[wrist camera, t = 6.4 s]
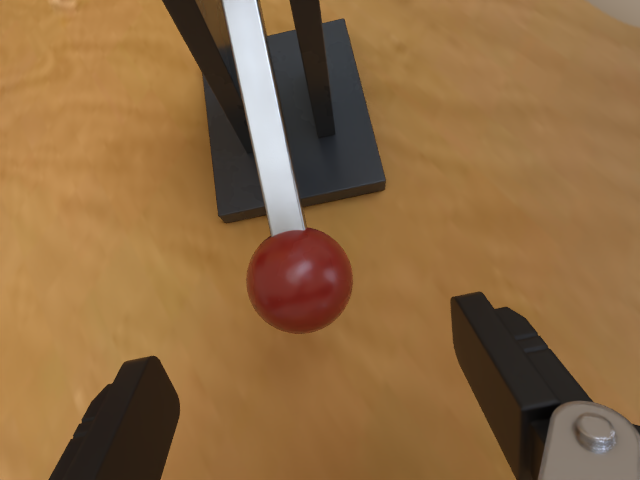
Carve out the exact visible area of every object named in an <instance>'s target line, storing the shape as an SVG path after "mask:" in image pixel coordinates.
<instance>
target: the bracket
mask: <svg viewBox="0 0 640 480" xmlns="http://www.w3.org/2000/svg"><path fill="white" fill-rule="evenodd" d="M162 1H163V3H164V5H165V7H166V8H167V10H168V12H169V14H170V16H171V17H172V19H173V21H174V23H175V25H176V26H177V28H178V30H179V32H180V34H181V35H182V37H183V39H184V41H185V43H186V44H187V46H188V48H189V50H190V52H191V53H192V55H193V57H194V59H195V61H196V62H197V64H198V66H199V68H200V70H201V71H202V74H203V83H204V92H205V101H206V110H207V119H208V128H209V137H210V146H211V155H212V164H213V173H214V182H215V191H216V200H217V208H218V216H219V217H220V218H221V219H222V220H223V221H224V222H225V223H230V222H235V221H239V220H244V219H249V218H253V217H258V216H263V215H267V214H266V209H265V205H264V200H263V195H262V191H261V186H260V181H259V177H258V172H257V167H256V163H255V158H254V153H253V148H252V144H251V139H250V134H249V130H248V125H247V120H246V116H245V111H244V106H243V102H242V97H241V92H240V87H239V83H238V78H237V73H236V69H235V64H234V59H233V55H232V50H231V45H230V41H229V36H228V31H227V26H226V22H225V17H224V12H223V8H222V3H221V0H162ZM290 5H291V10H292V14H293V19H294V24H295V29H296V30H292V31H287V32H283V33H279V34H274V35H270V36H267V37H268V42H269V47H270V52H271V57H272V61H273V66H274V71H275V76H276V80H277V85H278V90H279V95H280V99H281V104H282V109H283V114H284V119H285V123H286V128H287V133H288V138H289V142H290V147H291V152H292V157H293V162H294V166H295V171H296V176H297V181H298V185H299V190H300V195H301V200H302V204H303V207H306V206H310V205H315V204H320V203H325V202H329V201H334V200H339V199H343V198H348V197H353V196H358V195H362V194H367V193H372V192H377V191H381V190H385V183H386V179H385V175H384V171H383V167H382V163H381V159H380V156H379V152H378V148H377V144H376V140H375V136H374V132H373V128H372V124H371V121H370V117H369V113H368V109H367V105H366V101H365V97H364V93H363V90H362V86H361V82H360V78H359V74H358V70H357V66H356V62H355V58H354V55H353V51H352V47H351V43H350V39H349V35H348V31H347V27H346V24H345V20H344V19H339V20H335V21H330V22H326V23H322V19H321V11H320V3H319V0H290Z"/></svg>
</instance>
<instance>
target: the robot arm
mask: <svg viewBox="0 0 640 480" xmlns="http://www.w3.org/2000/svg"><path fill="white" fill-rule="evenodd" d="M451 318H452V332H453V344H454V349H455V353H456V356H457V359H458V362H459V364H460V367H461V369H462V371H463V373H464V375H465V377H466V379H467V381H468V383H469V385H470V387H471V389H472V391H473V393H474V395H475V397H476V399H477V401H478V403H479V405H480V407H481V409H482V411H483V413H484V415H485V417H486V419H487V421H488V423H489V425H490V427H491V429H492V431H493V433H494V435H495V437H496V439H497V441H498V443H499V445H500V447H501V449H502V451H503V453H504V455H505V457H506V459H507V461H508V463H509V465H510V467H511V470H512V472H513V474H514V476H515V478H516V480H640V426H638V425H634V424H631V423H630V422H629V421H628V420H627V419H626V418H625V417H623V416H622V415H621V414H619V413H618V412H616V411H614V410H613V409H610V408H608V407H606V406H604V405H601V404H598V403H594V402H593V401H592V400H591V399H590V398H589V396H588V395H587V394H586V393H585V391H584V390H583V389H582V388H581V386H580V385H579V384H578V383H577V381H576V380H575V379H574V378H573V376H572V375H571V374H570V373H569V372H568V370H567V369H566V368H565V367H564V365H563V364H562V363H561V362H560V360H559V359H558V358H557V357H556V355H555V354H554V353H553V352H552V350H551V349H548V346H547V344H546V343H545V342H544V341H543V339H542V338H541V337H540V336H538V334H537V332H536V331H535V329H534V328H533V327H532V326H531V324H530V323H529V322H528V321H527V319H526V318H525V317H523V316H521V315H520V314H518V313H516V312H515V311H513V310H511V309H510V308H508V307H503V308H498V309H494V308H493V307H492V305H491V304H490V302H489V301H488V300H487V298H486V297H485V295H484V294H483V293H482V292H475V293H470V294H465V295H460V296H455V297H451ZM179 415H180V403H179V398H178V395H177V393H176V391H175V389H174V387H173V385H172V383H171V381H170V379H169V377H168V375H167V373H166V371H165V369H164V368H163V366H162V364H161V362H160V360H159V359H158V358H157V357H156V356H150V357H145V358H140V359H135V360H130V361H126V362H124V363H123V365H122V366H121V368H120V370H119V372H118V374H117V376H116V378H115V380H114V382H113V383H112V384H108V385H107V386H106V387H105V388H104V389H103V390H102V391H101V392H100V393H99V394H98V395H97V397H96V398H95V399H94V400H93V401H92V402H91V404H90V406H89V407H88V409H87V411H86V413H85V415H84V416H83V418H82V423H81V424H79V425H78V427H77V429H76V431H75V433H74V435H73V439H71V440H70V442H69V444H68V445H67V447H66V449H65V451H64V453H63V454H62V456H61V458H60V460H59V462H58V464H57V465H56V467H55V469H54V471H53V473H52V474H51V476H50V478H49V480H160V479H161V476H162V473H163V469H164V466H165V463H166V459H167V456H168V453H169V449H170V446H171V443H172V439H173V436H174V433H175V429H176V426H177V423H178V419H179Z"/></svg>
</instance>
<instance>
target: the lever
mask: <svg viewBox="0 0 640 480" xmlns="http://www.w3.org/2000/svg"><path fill="white" fill-rule="evenodd" d="M221 3H222V8H223V12H224V17H225V22H226V26H227V31H228V36H229V41H230V45H231V50H232V55H233V59H234V64H235V69H236V73H237V78H238V83H239V87H240V92H241V97H242V102H243V106H244V111H245V116H246V120H247V125H248V130H249V134H250V139H251V144H252V148H253V153H254V158H255V163H256V167H257V172H258V177H259V181H260V186H261V191H262V195H263V200H264V205H265V209H266V214H267V219H268V224H269V228H270V233H271V236H270V237H268V238H267V239H266V240H265V241H263V242H262V243H261V245H260V246H259V247H258V248H257V249H256V251H255V252H254V254H253V256H252V258H251V260H250V263H249V266H248V270H247V278H246V281H247V292H248V295H249V299H250V301H251V303H252V306H253V307H254V309H255V311H256V312H257V313H258V314H259V316H260V317H261V318H262V319H263V320H264V321H265V322H267V323H268V324H269V325H271V326H273V327H274V328H276V329H279V330H281V331H284V332H288V333H294V334H305V333H311V332H315V331H318V330H320V329H323V328H324V327H326V326H328V325H329V324H331V323H332V322H333V321H335V320H336V319H337V318H338V317H339V316H340V314H341V313H342V312H343V310H344V309H345V307H346V305H347V304H348V301H349V299H350V296H351V292H352V285H353V275H352V268H351V265H350V262H349V259H348V257H347V255H346V253H345V252H344V250H343V249H342V247H341V246H340V245H339V244H338V243H337V242H336V241H335V240H334V239H333V238H331V237H330V236H329V235H327V234H325V233H323V232H321V231H319V230H316V229H312V228H307V224H306V219H305V214H304V209H303V204H302V200H301V195H300V190H299V185H298V181H297V176H296V171H295V166H294V162H293V157H292V152H291V147H290V142H289V138H288V133H287V128H286V123H285V119H284V114H283V109H282V104H281V99H280V95H279V90H278V85H277V80H276V76H275V71H274V66H273V61H272V57H271V52H270V47H269V42H268V37H267V33H266V28H265V23H264V18H263V14H262V9H261V4H260V0H221Z"/></svg>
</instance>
